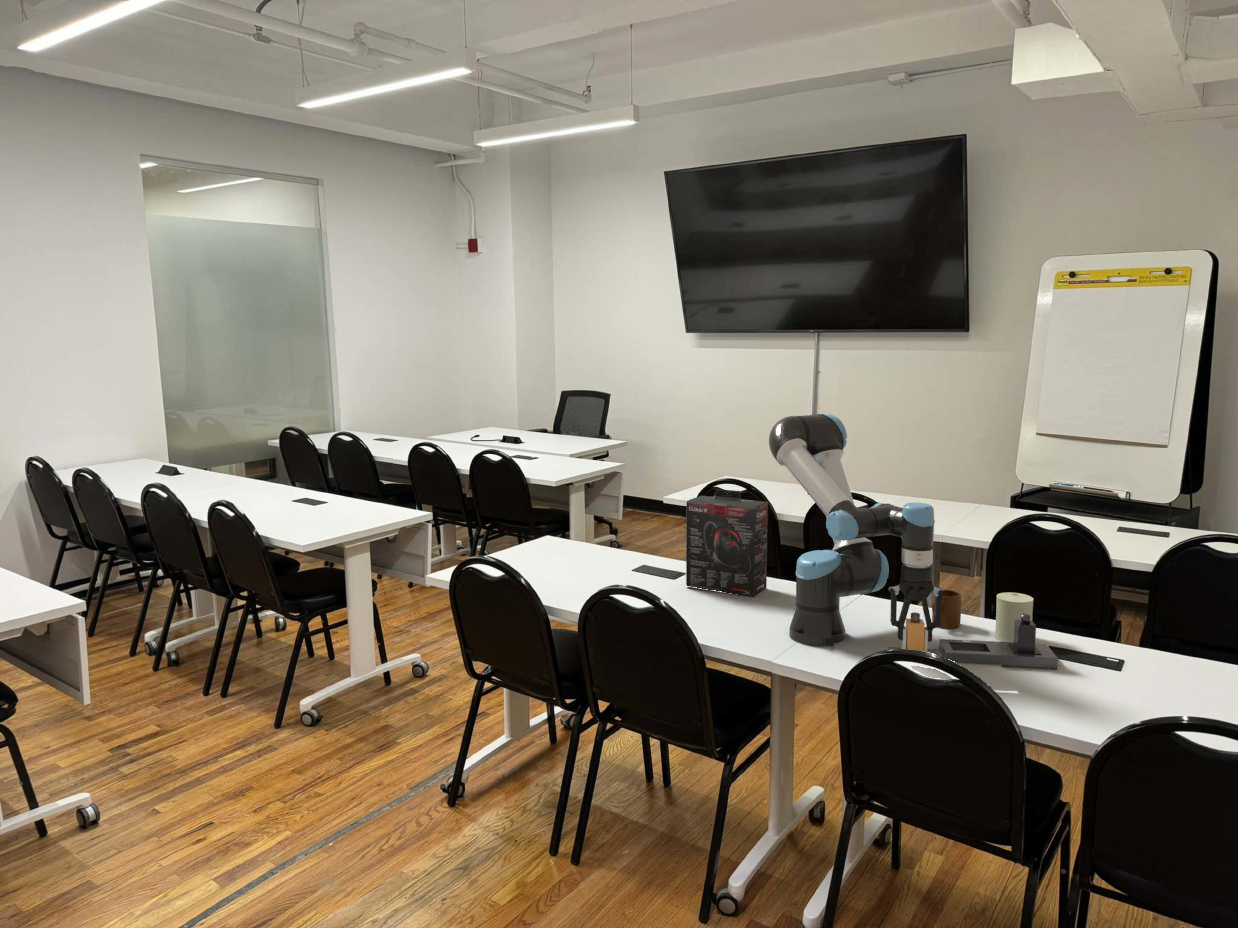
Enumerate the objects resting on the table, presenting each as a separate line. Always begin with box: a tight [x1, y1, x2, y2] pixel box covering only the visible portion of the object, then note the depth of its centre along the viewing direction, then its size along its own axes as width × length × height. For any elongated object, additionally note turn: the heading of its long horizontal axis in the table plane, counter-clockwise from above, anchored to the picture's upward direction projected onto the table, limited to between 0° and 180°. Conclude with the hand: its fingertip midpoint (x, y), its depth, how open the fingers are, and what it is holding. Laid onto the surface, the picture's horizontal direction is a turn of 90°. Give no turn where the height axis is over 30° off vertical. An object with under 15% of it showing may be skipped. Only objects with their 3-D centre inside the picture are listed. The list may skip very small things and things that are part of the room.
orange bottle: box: [905, 611, 926, 651], centre depth 220 cm, size 4×4×11 cm
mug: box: [931, 589, 962, 630], centre depth 243 cm, size 12×8×9 cm, turn 135°
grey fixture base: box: [938, 614, 1059, 671], centre depth 217 cm, size 26×10×12 cm, turn 79°
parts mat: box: [887, 646, 939, 656], centre depth 221 cm, size 12×10×1 cm
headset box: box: [685, 488, 769, 598], centre depth 282 cm, size 25×12×33 cm, turn 60°
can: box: [994, 591, 1034, 642], centre depth 232 cm, size 9×9×12 cm
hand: (914, 652), depth 221 cm, fingers open, 4 cm apart
